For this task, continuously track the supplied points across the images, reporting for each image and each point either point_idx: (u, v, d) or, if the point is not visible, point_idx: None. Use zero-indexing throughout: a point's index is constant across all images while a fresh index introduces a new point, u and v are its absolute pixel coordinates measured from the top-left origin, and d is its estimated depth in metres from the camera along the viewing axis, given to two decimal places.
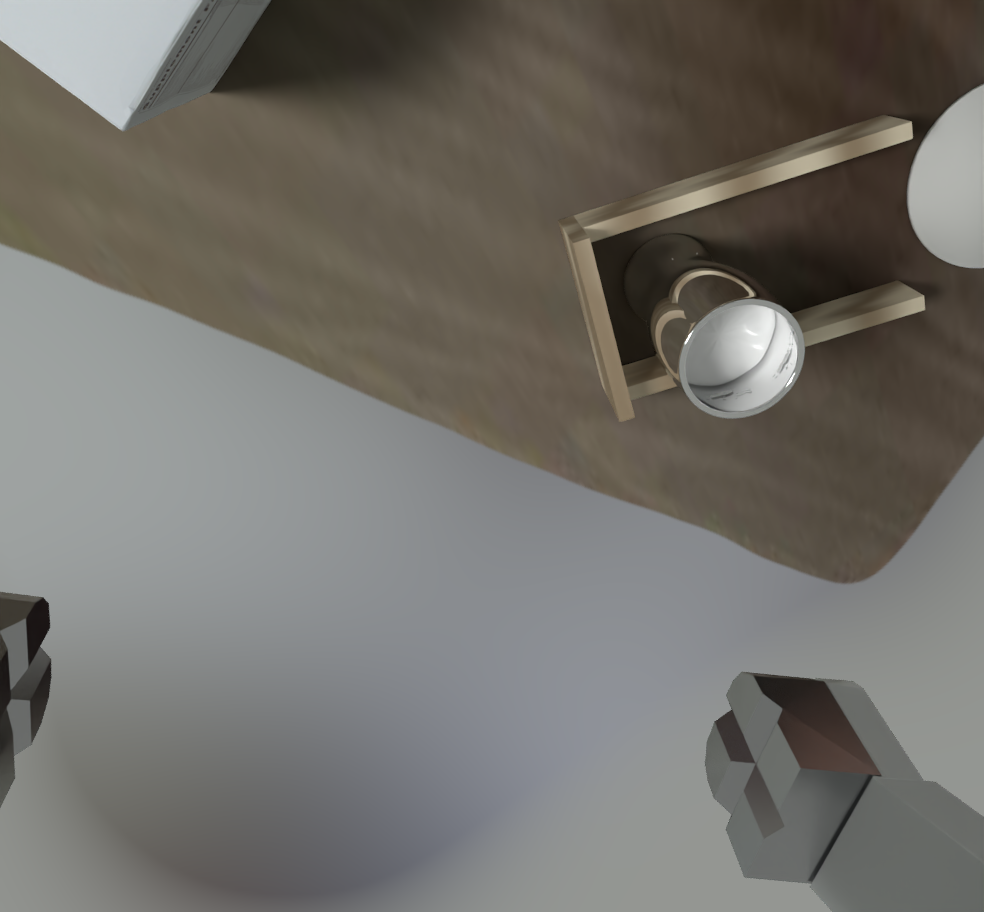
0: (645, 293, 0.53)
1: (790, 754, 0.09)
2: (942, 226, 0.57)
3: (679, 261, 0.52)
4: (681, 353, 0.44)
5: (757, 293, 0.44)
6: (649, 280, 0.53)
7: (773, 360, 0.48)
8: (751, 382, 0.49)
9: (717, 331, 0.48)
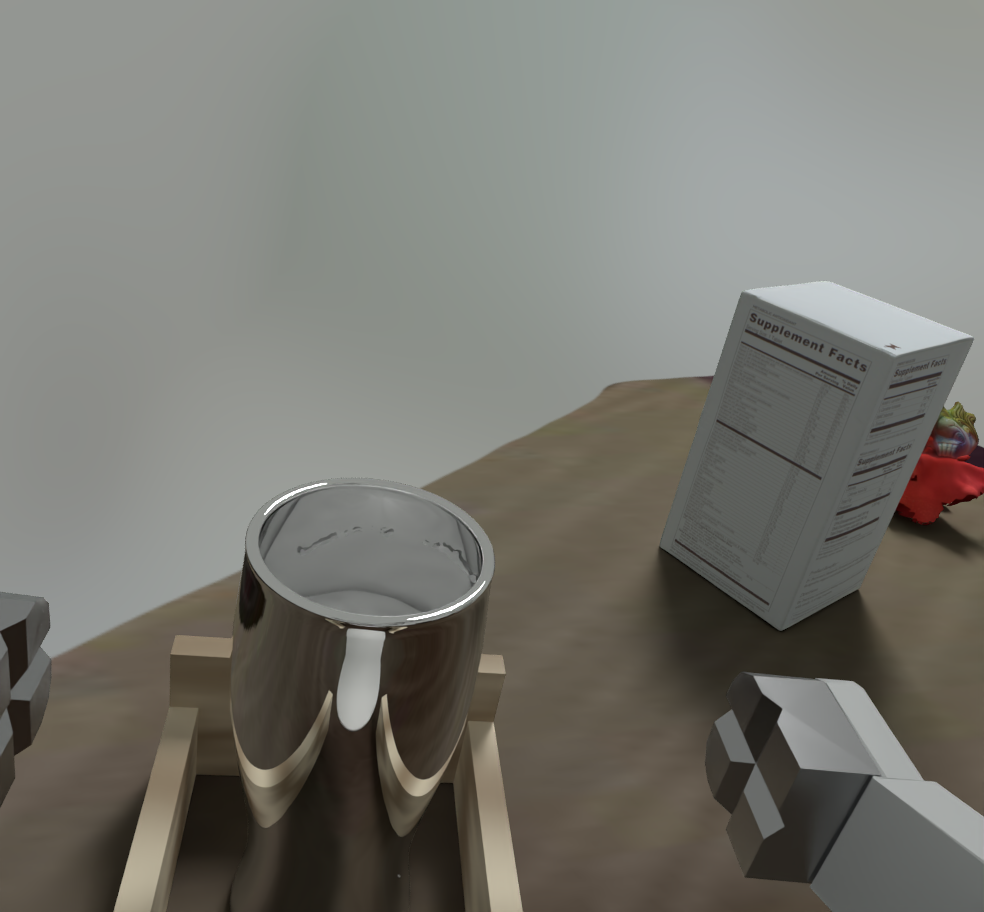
0: None
1: (790, 754, 0.09)
2: None
3: None
4: None
5: (480, 619, 0.23)
6: None
7: None
8: None
9: None
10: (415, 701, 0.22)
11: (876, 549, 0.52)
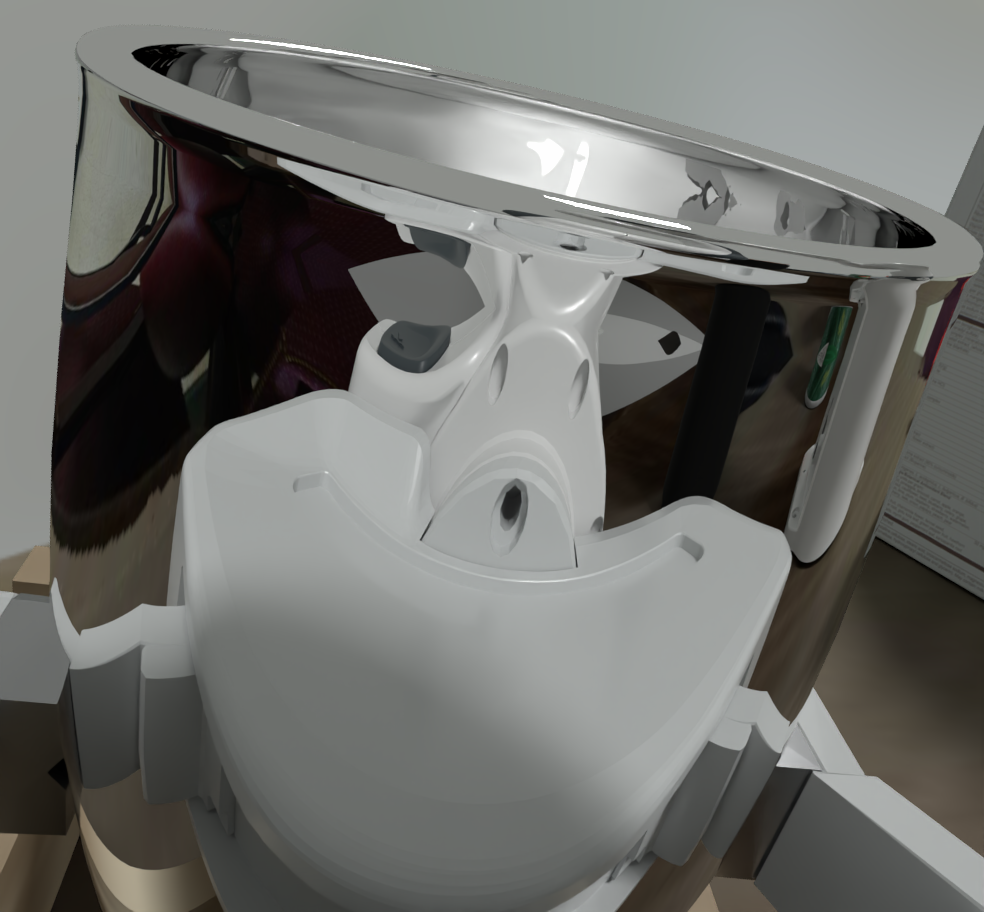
0: None
1: None
2: None
3: None
4: (630, 114, 0.10)
5: None
6: None
7: None
8: None
9: None
10: (731, 665, 0.05)
11: None
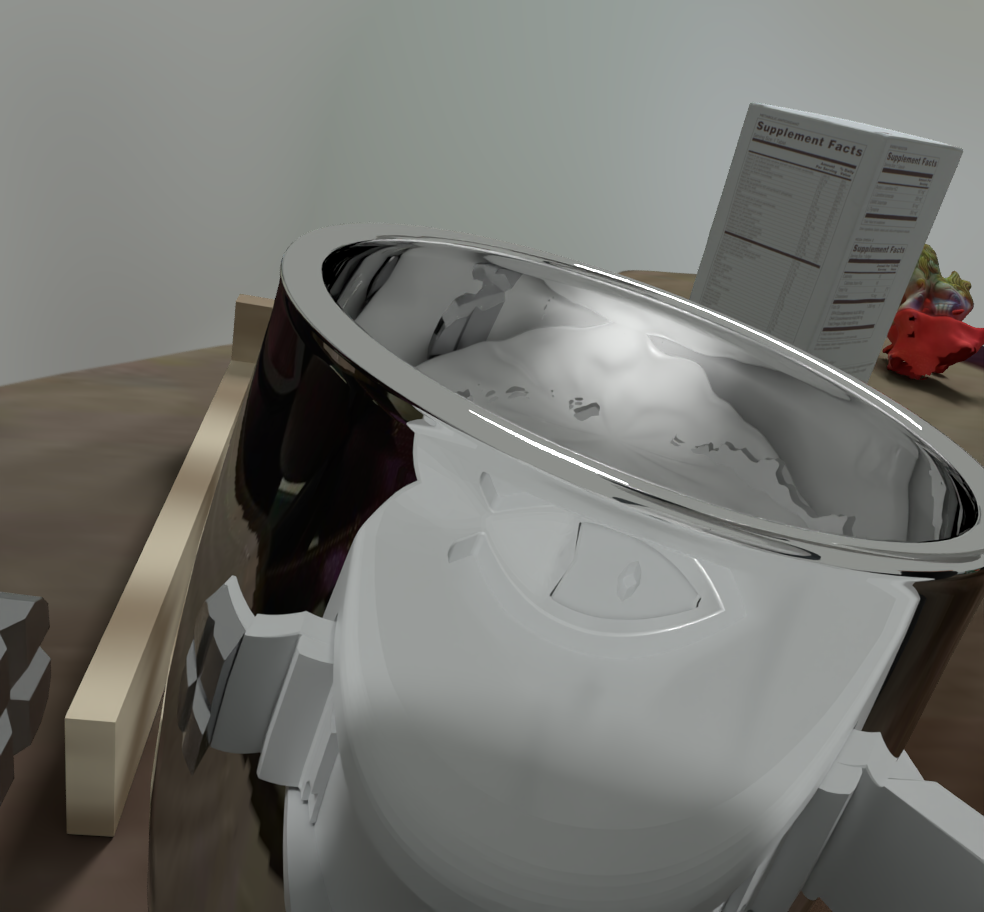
0: None
1: None
2: None
3: None
4: (697, 304, 0.11)
5: None
6: None
7: None
8: None
9: None
10: (788, 862, 0.06)
11: (872, 367, 0.56)
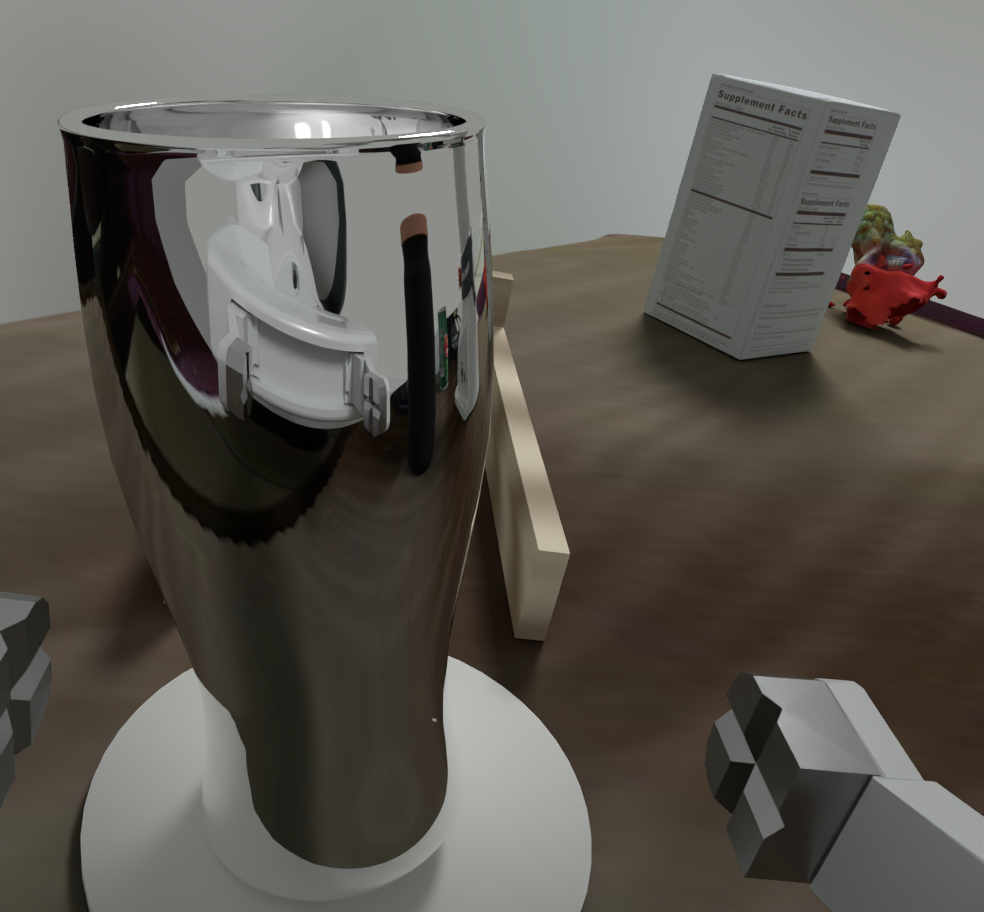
0: None
1: (789, 754, 0.09)
2: None
3: None
4: (366, 99, 0.17)
5: (473, 197, 0.13)
6: None
7: None
8: None
9: None
10: (380, 325, 0.12)
11: (824, 312, 0.63)
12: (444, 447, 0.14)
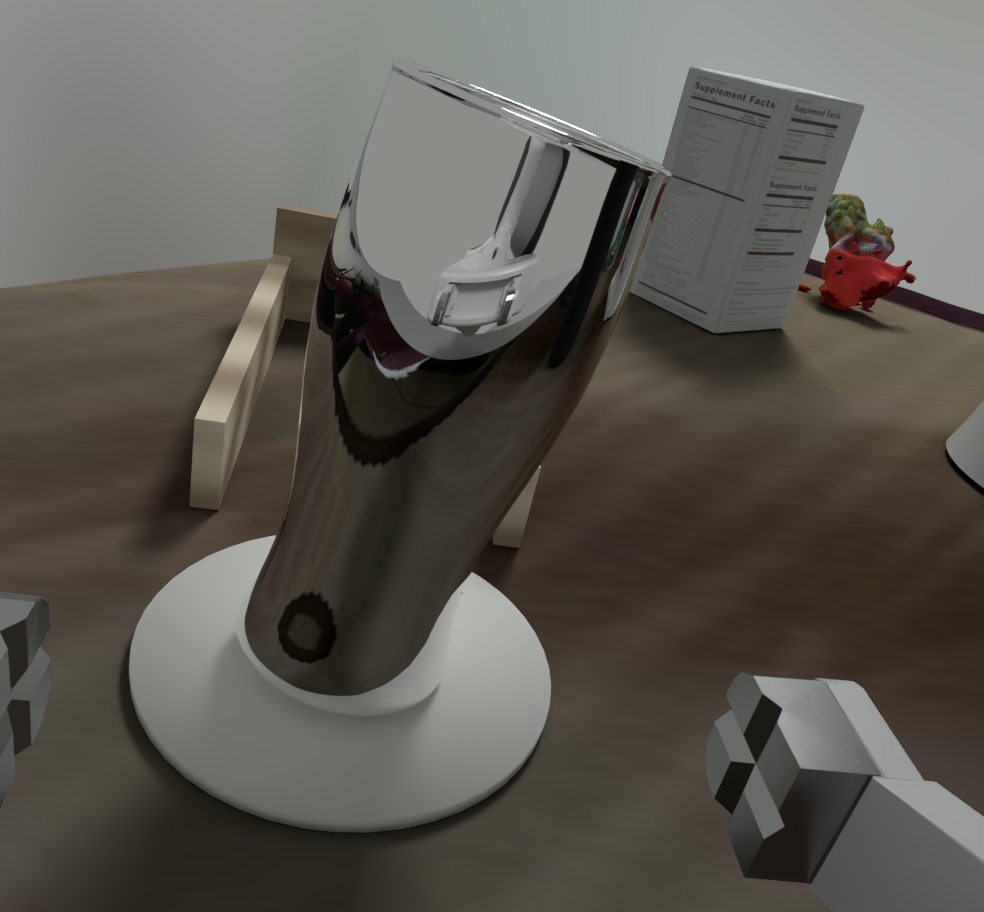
0: None
1: (790, 754, 0.09)
2: None
3: None
4: (552, 118, 0.22)
5: (654, 218, 0.19)
6: None
7: (417, 260, 0.18)
8: None
9: None
10: (591, 283, 0.18)
11: (795, 291, 0.67)
12: (580, 381, 0.20)
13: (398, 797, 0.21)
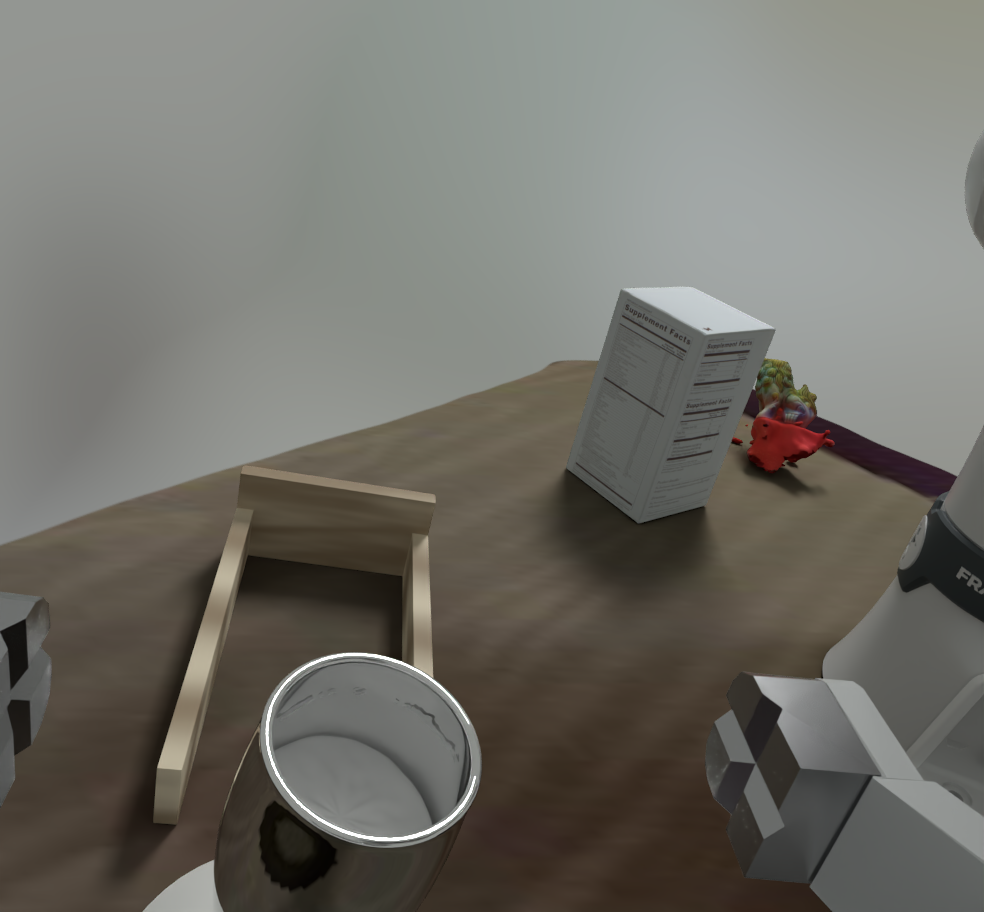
0: None
1: (790, 754, 0.09)
2: None
3: None
4: (399, 660, 0.28)
5: None
6: None
7: None
8: None
9: (348, 815, 0.27)
10: (417, 887, 0.25)
11: (715, 476, 0.75)
12: (419, 905, 0.27)
13: None
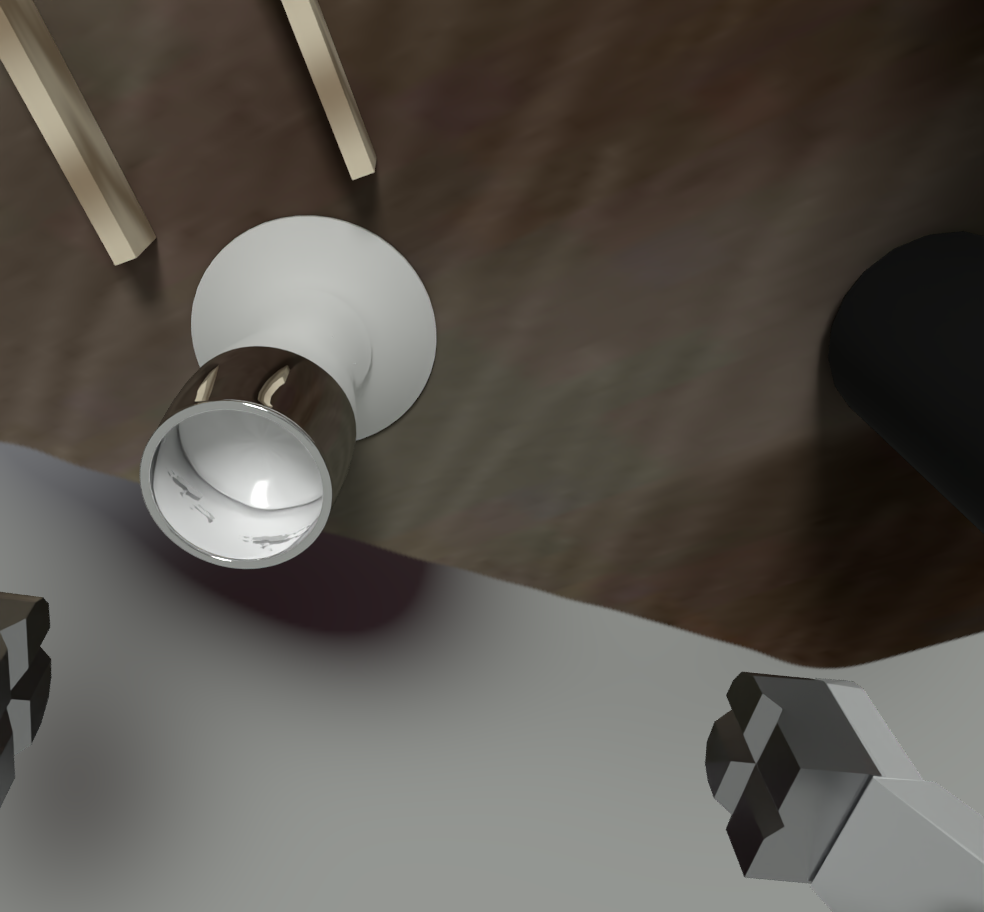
0: (273, 324, 0.38)
1: (789, 754, 0.09)
2: (241, 278, 0.42)
3: (332, 345, 0.38)
4: (199, 404, 0.29)
5: (333, 459, 0.31)
6: (292, 321, 0.38)
7: (267, 524, 0.34)
8: (225, 514, 0.34)
9: (265, 436, 0.33)
10: None
11: None
12: (354, 441, 0.34)
13: (381, 418, 0.46)
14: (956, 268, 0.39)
